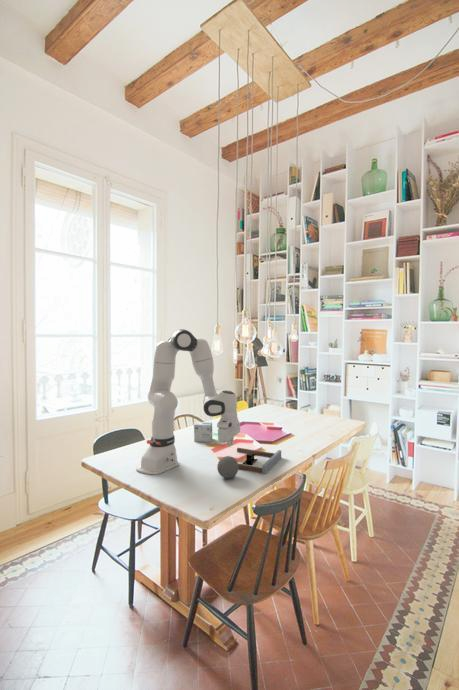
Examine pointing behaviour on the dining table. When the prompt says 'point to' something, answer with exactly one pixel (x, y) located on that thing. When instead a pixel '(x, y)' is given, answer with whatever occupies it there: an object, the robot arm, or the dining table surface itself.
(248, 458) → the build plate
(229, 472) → the decorative ball
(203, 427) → the light bulb box
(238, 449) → the frame
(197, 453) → the dining table surface
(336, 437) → the dining table surface
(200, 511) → the dining table surface
